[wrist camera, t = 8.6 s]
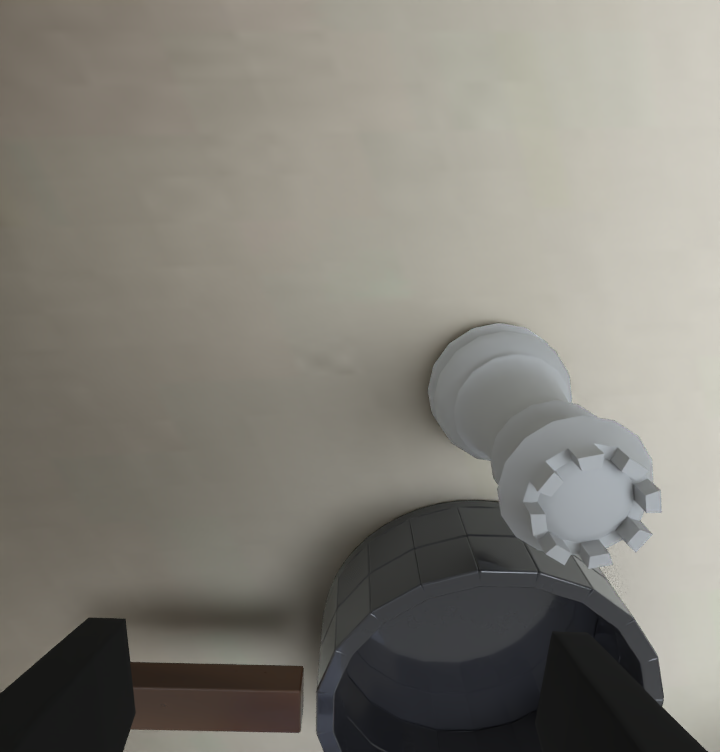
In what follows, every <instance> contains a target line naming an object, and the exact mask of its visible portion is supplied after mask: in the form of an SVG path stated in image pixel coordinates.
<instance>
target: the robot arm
mask: <svg viewBox="0 0 720 752" xmlns="http://www.w3.org/2000/svg"><path fill="white" fill-rule="evenodd" d="M135 714H136V710H135V701H134V692H133V683H132V674H131V665H130V656H129V647H128V638H127V629H126V620H125V619H117V618H88V619H87V620H86V621H84V622H83V623H82V624H81V625H80V626H78V627H77V628H76V629H75V630H74V631H72V632H71V633H70V634H69V635H68V636H67V637H65V638H64V639H63V640H62V641H61V642H60V643H58V644H57V645H56V646H55V647H54V648H53V649H51V650H50V651H49V652H48V653H47V654H46V655H44V656H43V657H42V658H41V659H40V660H39V661H37V662H36V663H35V664H34V665H33V666H32V667H31V668H29V669H28V670H27V671H26V672H25V673H24V674H22V675H21V676H20V677H19V678H18V679H17V680H15V681H14V682H13V683H12V684H11V685H10V686H8V687H7V688H6V689H5V690H4V691H3V692H1V693H0V752H123V750H124V747H125V744H126V741H127V738H128V735H129V732H130V729H131V726H132V723H133V720H134V717H135ZM535 726H536V730H537V734H538V738H539V742H540V746H541V750H542V752H708V751H706V750H705V749H704V748H703V747H702V746H701V745H700V744H699V743H698V742H697V741H696V740H695V739H694V738H693V737H692V736H691V735H690V734H689V733H688V732H687V731H686V730H685V729H684V728H683V727H682V726H681V725H680V724H679V723H678V722H677V721H676V720H675V719H674V718H673V717H672V716H671V715H670V714H669V713H668V712H667V711H666V710H665V709H664V708H663V707H662V706H661V705H660V704H659V703H658V702H657V701H656V700H655V699H654V698H653V697H652V696H651V695H650V694H649V693H648V692H647V691H646V690H645V689H644V688H643V687H642V686H641V685H640V684H639V683H638V682H637V681H636V680H635V679H634V678H633V677H632V676H631V675H630V674H629V673H628V672H627V671H626V670H625V669H624V668H623V667H622V666H621V665H620V664H619V663H618V662H617V661H616V660H615V659H614V658H613V657H612V656H611V655H610V654H609V653H608V652H607V651H606V650H605V649H604V648H603V647H602V646H601V645H600V644H599V643H598V642H597V641H596V640H595V639H594V638H593V637H592V636H591V635H590V634H589V633H588V632H558V631H552V634H551V639H550V645H549V650H548V656H547V661H546V666H545V672H544V677H543V682H542V688H541V693H540V698H539V704H538V709H537V715H536V720H535Z"/></svg>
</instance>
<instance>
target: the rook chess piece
mask: <svg viewBox="0 0 720 752" xmlns="http://www.w3.org/2000/svg"><path fill="white" fill-rule="evenodd" d="M428 394H429V400H430V405H431V411H432V415H433V416H434V417H435V419H436V420H437V422H438V424H439V425H440V427H441V428H442V430H443V431H444V433H445V434H446V435H447V437H448V438H449V440H450V441H451V443H453V444H454V445H456V446H457V447H459V448H461V449H462V450H464V451H466V452H467V453H469V454H470V455H472V456H474V457H475V458H477V459H483V460H489V461H491V466H492V473H493V478H494V479H495V481H496V482H497V484H498V488H497V491H498V497H499V504H500V511H501V516H502V517H503V519H504V520H505V522H506V523H507V524H508V526H509V527H510V529H511V530H512V532H513V533H514V535H515V536H516V537H517V538H519V539H521V540H522V541H524V542H526V543H527V544H529V545H531V546H533V547H534V548H536V549H538V550H540V551H544V553H545V554H546V555H548V556H550V557H551V558H553V559H555V560H556V561H558V562H560V563H561V564H563V565H565V564H566V562H567V560H568V559H569V557H570V556H571V555H579V556H580V557H581V559H582V560H583V562H584V563H585V565H586V566H587V568H588V569H591V568H597V567H602V566H608V565H613V563H612V560H611V557H610V554H609V552H608V551H607V550H606V548H608V547H610V546H611V545H613V544H615V543H617V542H619V541H621V540H622V539H623V540H624V541H625V542H626V543H627V544H628V545H629V546H630V547H631V548H632V549H633V550H634V551H635V552H637V551H638V550H639V548H640V547H641V546H642V545H643V544H644V543H645V542H646V541H647V540H648V539H649V538H650V537H651V536H652V535H653V534H652V533H651V532H650V531H649V530H648V529H647V528H646V527H645V526H644V525H643V523H642V522H641V518H642V515H643V513H644V511H645V512H646V513H662V509H661V490H660V489H659V488H658V487H656V486H655V485H654V484H653V468H652V459H651V457H650V455H649V454H648V452H647V450H646V448H645V447H644V445H643V443H642V441H641V440H640V438H639V436H637V435H636V434H634V433H633V432H631V431H630V430H628V429H627V428H625V427H624V426H622V425H621V424H619V423H618V422H616V421H615V420H609V419H603V418H598V417H597V416H595V415H594V414H592V413H591V412H589V411H588V410H586V409H585V408H583V407H582V406H580V405H579V404H573V403H572V396H571V386H570V376H569V373H568V371H567V369H566V368H565V366H564V364H563V363H562V361H561V359H560V358H559V356H558V354H557V352H556V351H555V350H554V349H553V348H551V347H550V346H549V345H548V343H547V342H546V341H545V340H543V339H542V338H540V337H539V336H537V335H536V334H534V333H533V332H531V331H530V330H528V329H527V328H525V327H519V326H514V325H509V324H503V323H496V324H491V325H486V326H482V327H477V328H472V329H471V330H469V331H468V332H466V333H465V334H463V335H461V336H460V337H458V338H457V339H455V340H454V341H452V342H451V343H449V344H448V346H447V347H446V349H445V350H444V351H443V353H442V354H441V356H440V357H439V358H438V360H437V361H436V363H435V364H434V366H433V370H432V374H431V378H430V383H429V387H428Z"/></svg>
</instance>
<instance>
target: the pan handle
mask: <svg viewBox="0 0 720 752" xmlns="http://www.w3.org/2000/svg"><path fill="white" fill-rule="evenodd" d="M130 665H131V674H132V683H133V692H134V701H135V710H136V714H135V717H134V720H133V723H132V726H131V729H139V730H188V731H237V732H286V733H299V732H300V731H301V724H302V715H303V676H304V668H303V666H282V665H237V664H193V663H148V662H130Z"/></svg>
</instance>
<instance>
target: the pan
mask: <svg viewBox="0 0 720 752" xmlns="http://www.w3.org/2000/svg"><path fill="white" fill-rule="evenodd" d="M552 631H558V632H588V633H589V634H590V635H591V636H592V637H593V638H594V639H595V640H596V641H597V642H598V643H599V644H600V645H601V646H602V647H603V648H604V649H605V650H606V651H607V652H608V653H609V654H610V655H611V656H612V657H613V658H614V659H615V660H616V661H617V662H618V663H619V664H620V665H621V666H622V667H623V668H624V669H625V670H626V671H627V672H628V673H629V674H630V675H631V676H632V677H633V678H634V679H635V680H636V681H637V682H638V683H639V684H640V685H641V686H642V687H643V688H644V689H645V690H646V691H647V692H648V693H649V694H650V695H651V696H652V697H653V698H654V699H655V700H656V701H657V702H658V703H659V704H660V705H661V706H662V705H663V701H664V699H663V698H664V694H663V687H662V680H661V674H660V667H659V660H658V656H657V653H656V652H655V650H654V649H653V647H652V645H651V644H650V642H649V641H648V639H647V637H646V636H645V634H644V633H643V631H642V630H641V628H640V626H639V625H638V623H637V622H636V620H635V619H634V617H633V616H632V614H631V613H630V611H629V610H628V608H627V607H626V606H625V604H624V603H623V601H622V600H621V598H620V597H619V596H618V594H617V593H616V591H615V590H614V588H613V587H612V585H611V584H610V583H609V581H608V580H607V578H606V577H605V575H604V574H603V573H602V571H601V570H600V568H599V567H597V568H591V569H588V568H587V566H586V565H585V563H584V562H583V560H582V559H581V557H580V556H579V555H571V556H570V557H569V559H568V560H567V562H566V564H565V565H563V564H561V563H560V562H558V561H556V560H555V559H553V558H551V557H550V556H548V555H546V554H545V553H544V551H540V550H538V549H536V548H534V547H533V546H531V545H529V544H527V543H526V542H524V541H522V540H521V539H519V538H517V537H516V536H515V535H514V533H513V532H512V530H511V529H510V527H509V526H508V524H507V523H506V522H505V520H504V519H503V517H502V516H501V511H500V504H499V502H492V501H481V500H472V501H454V502H448V503H441V504H436V505H432V506H429V507H425V508H421V509H418V510H416V511H413V512H410V513H408V514H405V515H403V516H401V517H399V518H397V519H395V520H393V521H391V522H389V523H388V524H386V525H384V526H383V527H381V528H380V529H378V530H377V531H376V532H374V533H373V534H371V535H370V536H369V537H368V538H366V539H365V540H364V541H363V542H362V543H361V544H360V545H359V546H358V547H357V548H356V549H355V550H354V551H353V552H352V553H351V555H350V556H349V557H348V558H347V559H346V561H345V562H344V563H343V565H342V567H341V568H340V570H339V572H338V573H337V575H336V576H335V579H334V581H333V583H332V586H331V588H330V590H329V593H328V597H327V601H326V605H325V609H324V613H323V621H322V633H321V645H320V657H319V668H318V680H317V692H316V732H317V733H316V734H317V736H318V739H319V741H320V743H321V746H322V748H323V751H324V752H542V750H541V746H540V742H539V738H538V734H537V730H536V726H535V720H536V715H537V709H538V704H539V698H540V693H541V688H542V682H543V677H544V672H545V666H546V661H547V656H548V650H549V645H550V639H551V634H552Z"/></svg>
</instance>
